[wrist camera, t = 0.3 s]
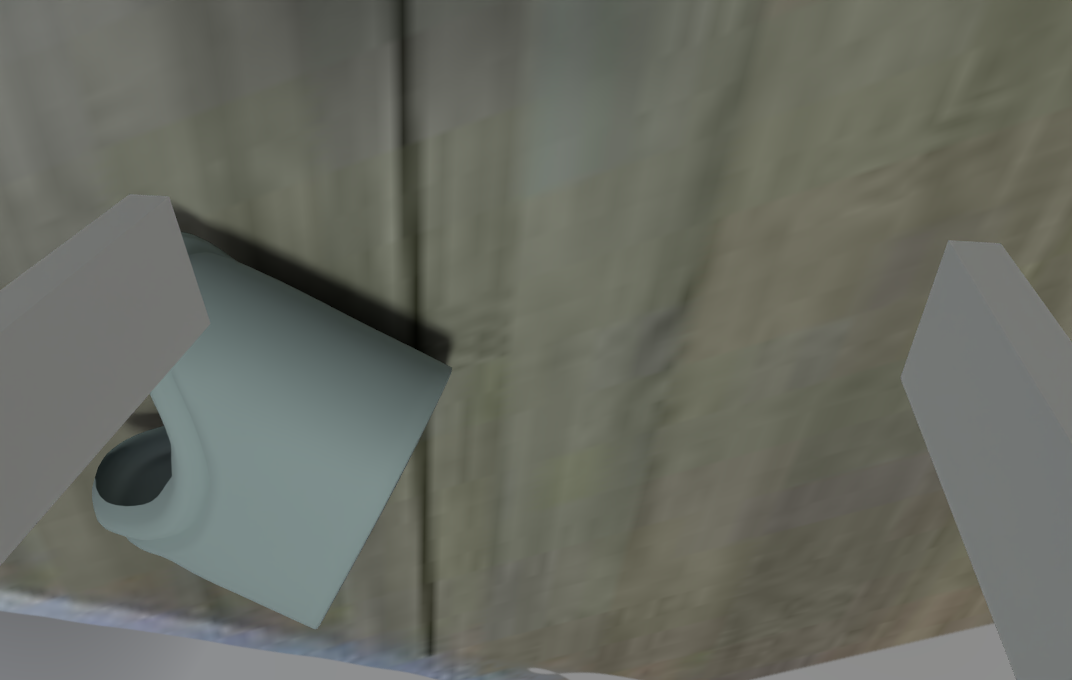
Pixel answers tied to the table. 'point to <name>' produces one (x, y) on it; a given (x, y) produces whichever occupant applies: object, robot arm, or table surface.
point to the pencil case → (270, 442)
